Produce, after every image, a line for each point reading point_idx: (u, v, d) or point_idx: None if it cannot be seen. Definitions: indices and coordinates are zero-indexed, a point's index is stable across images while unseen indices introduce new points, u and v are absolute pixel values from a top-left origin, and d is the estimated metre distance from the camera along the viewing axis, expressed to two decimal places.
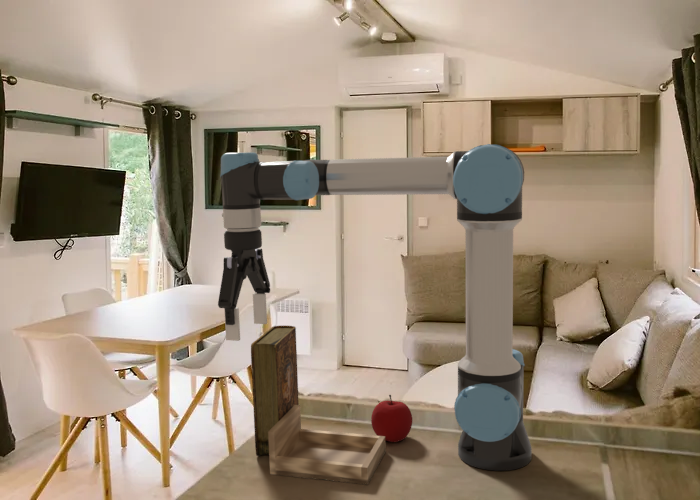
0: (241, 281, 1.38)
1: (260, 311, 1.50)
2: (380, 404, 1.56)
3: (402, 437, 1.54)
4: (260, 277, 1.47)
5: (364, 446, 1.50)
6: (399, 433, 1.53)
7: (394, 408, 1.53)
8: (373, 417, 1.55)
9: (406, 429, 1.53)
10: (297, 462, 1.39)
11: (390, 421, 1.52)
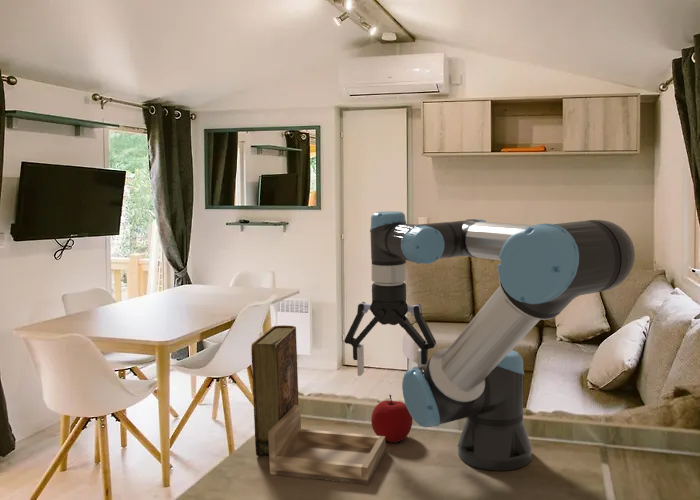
0: (369, 327, 1.54)
1: None
2: (380, 404, 1.56)
3: (402, 437, 1.54)
4: (411, 333, 1.51)
5: (364, 446, 1.50)
6: (399, 433, 1.53)
7: (394, 408, 1.53)
8: (373, 417, 1.55)
9: (406, 429, 1.53)
10: (297, 462, 1.39)
11: (390, 421, 1.52)
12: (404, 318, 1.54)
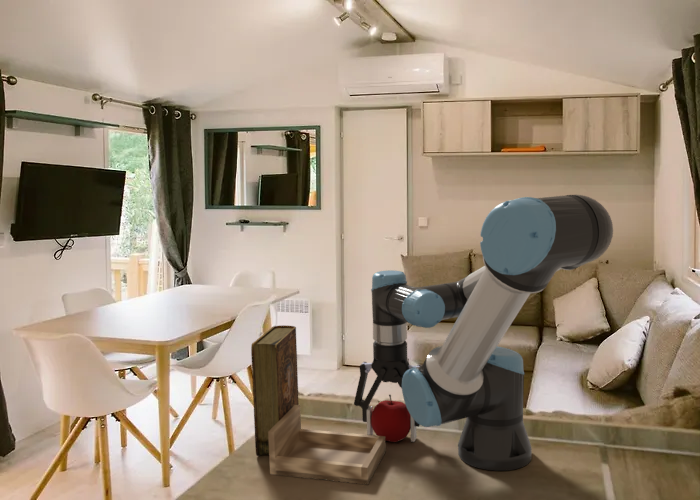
0: (374, 387, 1.55)
1: None
2: (380, 404, 1.56)
3: (402, 437, 1.54)
4: None
5: (364, 446, 1.50)
6: (399, 433, 1.53)
7: (394, 408, 1.53)
8: (373, 417, 1.55)
9: (406, 429, 1.53)
10: (297, 462, 1.39)
11: (390, 420, 1.52)
12: None
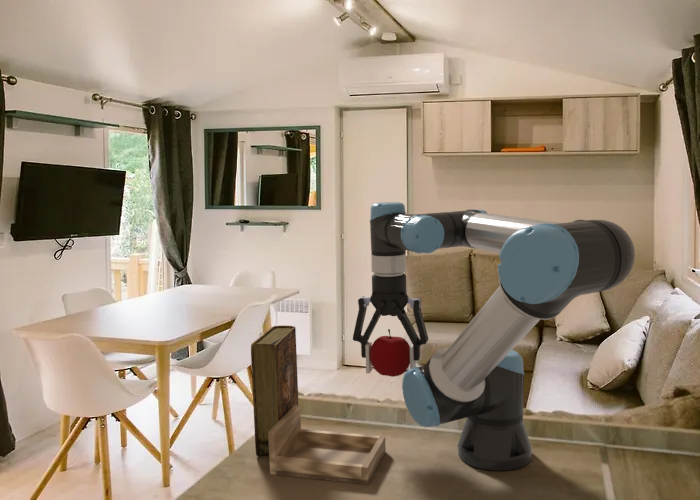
0: (373, 321, 1.53)
1: None
2: (379, 338, 1.54)
3: (401, 371, 1.52)
4: (406, 327, 1.51)
5: (364, 446, 1.50)
6: (398, 366, 1.50)
7: (393, 342, 1.51)
8: (372, 351, 1.53)
9: (405, 362, 1.51)
10: (297, 462, 1.39)
11: (389, 354, 1.50)
12: (402, 311, 1.54)
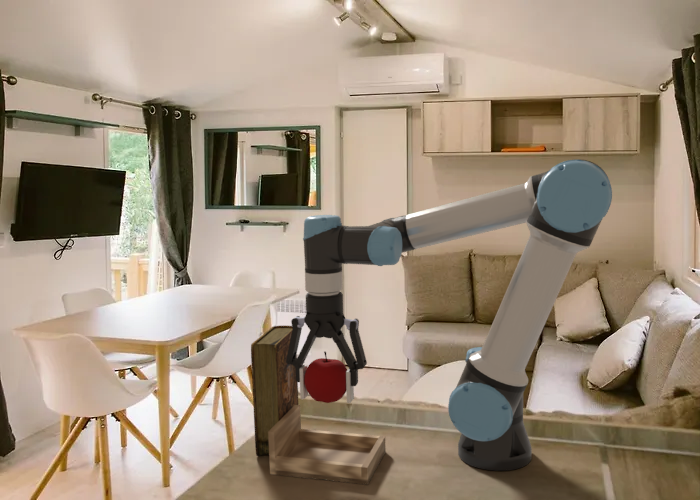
0: (307, 343, 1.42)
1: None
2: (314, 361, 1.43)
3: (337, 397, 1.41)
4: (343, 350, 1.40)
5: (364, 446, 1.50)
6: (333, 392, 1.39)
7: (328, 366, 1.40)
8: (306, 375, 1.42)
9: (341, 388, 1.40)
10: (297, 462, 1.39)
11: (323, 379, 1.39)
12: (339, 332, 1.42)
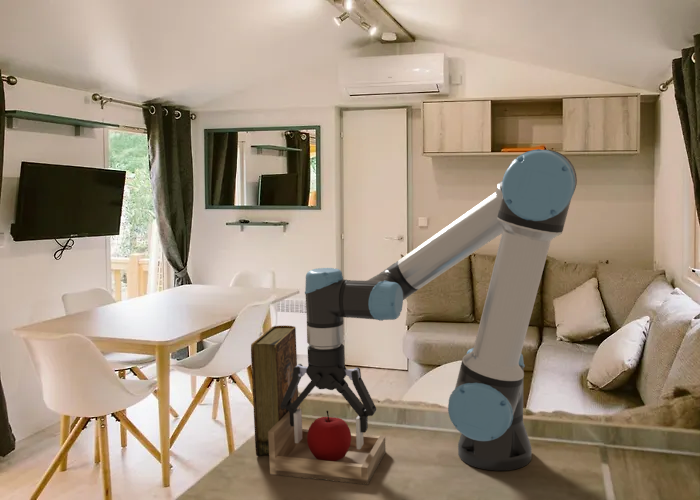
0: (306, 391, 1.44)
1: None
2: (316, 421, 1.44)
3: (339, 457, 1.42)
4: (349, 399, 1.41)
5: (364, 446, 1.50)
6: (335, 452, 1.41)
7: (330, 426, 1.42)
8: (308, 435, 1.44)
9: (343, 448, 1.42)
10: (297, 462, 1.39)
11: (325, 439, 1.41)
12: (343, 382, 1.44)
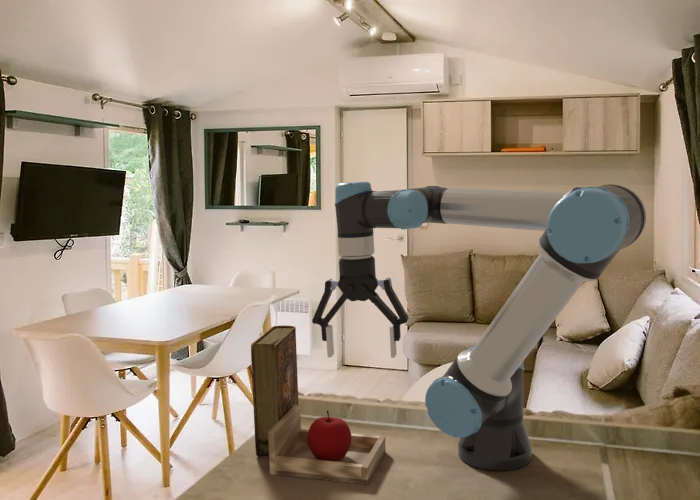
0: (338, 304, 1.46)
1: None
2: (316, 421, 1.44)
3: (339, 457, 1.42)
4: (382, 308, 1.44)
5: (364, 446, 1.50)
6: (335, 453, 1.41)
7: (331, 426, 1.42)
8: (308, 435, 1.44)
9: (343, 448, 1.42)
10: (297, 462, 1.39)
11: (326, 439, 1.41)
12: (374, 294, 1.47)
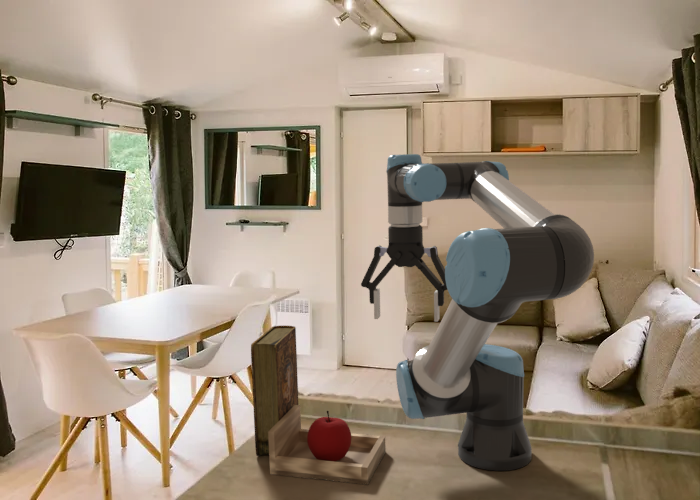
0: (386, 269, 1.55)
1: None
2: (316, 421, 1.44)
3: (339, 457, 1.42)
4: (427, 274, 1.53)
5: (364, 446, 1.50)
6: (335, 453, 1.41)
7: (331, 426, 1.42)
8: (308, 435, 1.44)
9: (343, 448, 1.42)
10: (297, 462, 1.39)
11: (326, 439, 1.41)
12: (420, 261, 1.55)
